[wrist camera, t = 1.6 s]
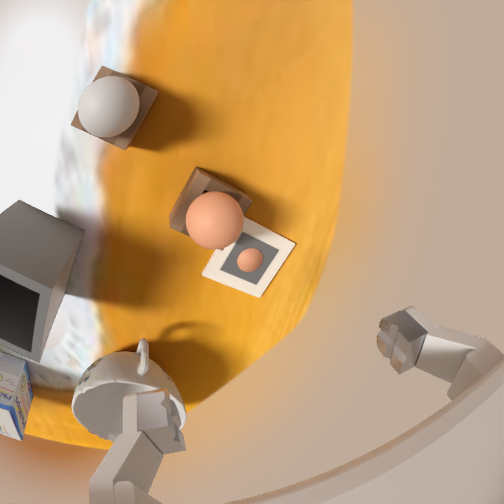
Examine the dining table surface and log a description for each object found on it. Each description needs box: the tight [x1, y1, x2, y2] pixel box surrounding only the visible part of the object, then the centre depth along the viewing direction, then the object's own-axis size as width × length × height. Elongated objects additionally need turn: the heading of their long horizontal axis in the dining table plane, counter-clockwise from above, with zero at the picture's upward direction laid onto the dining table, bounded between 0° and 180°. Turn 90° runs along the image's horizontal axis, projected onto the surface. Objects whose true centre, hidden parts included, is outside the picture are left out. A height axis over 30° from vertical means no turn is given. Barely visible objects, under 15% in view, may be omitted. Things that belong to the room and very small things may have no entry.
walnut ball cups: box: [71, 66, 252, 251], centre depth 22 cm, size 9×16×3 cm, turn 58°
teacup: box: [72, 338, 186, 442], centre depth 29 cm, size 15×12×8 cm
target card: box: [202, 216, 295, 298], centre depth 30 cm, size 7×7×1 cm
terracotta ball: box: [186, 191, 244, 249], centre depth 23 cm, size 4×4×4 cm
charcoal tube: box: [0, 200, 84, 362], centre depth 19 cm, size 8×8×10 cm
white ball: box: [78, 76, 140, 137], centre depth 17 cm, size 4×4×4 cm
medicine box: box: [0, 352, 33, 440], centre depth 25 cm, size 8×4×9 cm, turn 159°
